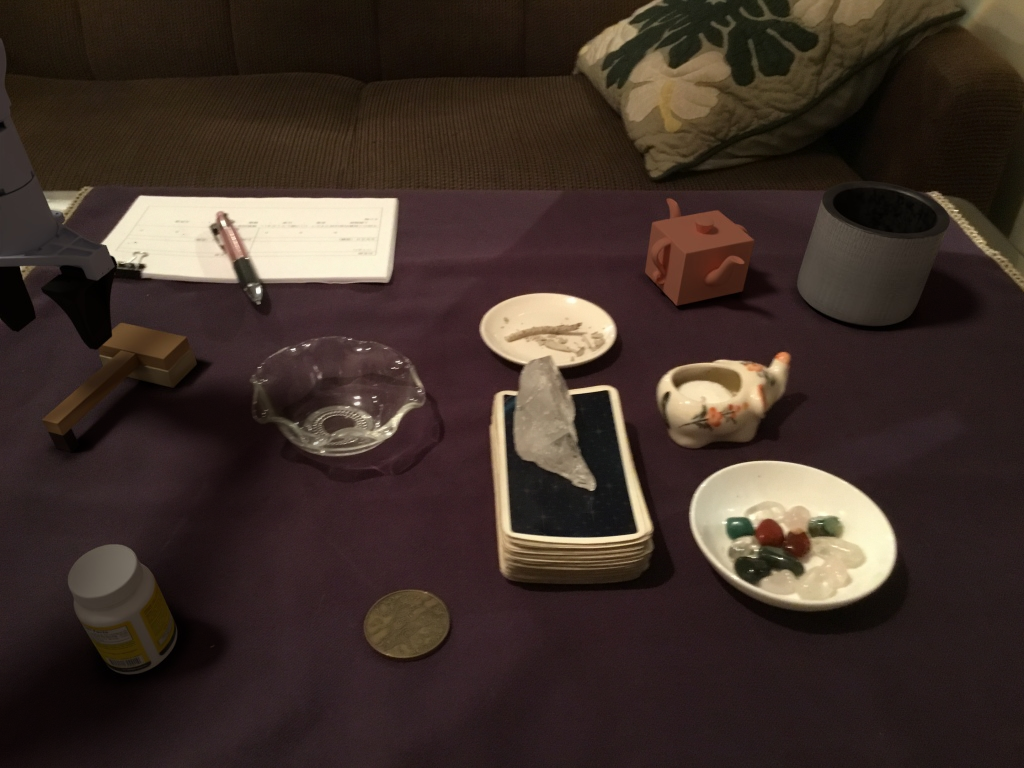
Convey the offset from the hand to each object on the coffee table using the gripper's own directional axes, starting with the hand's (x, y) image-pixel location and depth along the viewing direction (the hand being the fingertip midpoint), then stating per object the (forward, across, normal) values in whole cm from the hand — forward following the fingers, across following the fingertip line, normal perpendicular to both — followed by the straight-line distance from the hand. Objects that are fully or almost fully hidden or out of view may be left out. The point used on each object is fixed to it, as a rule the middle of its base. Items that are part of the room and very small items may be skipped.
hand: (62, 333), depth 65 cm
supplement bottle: (+9, -18, +18) cm, 27 cm away
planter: (+11, -65, -42) cm, 78 cm away
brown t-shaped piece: (+9, 0, -2) cm, 10 cm away
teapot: (+11, -48, -39) cm, 63 cm away
